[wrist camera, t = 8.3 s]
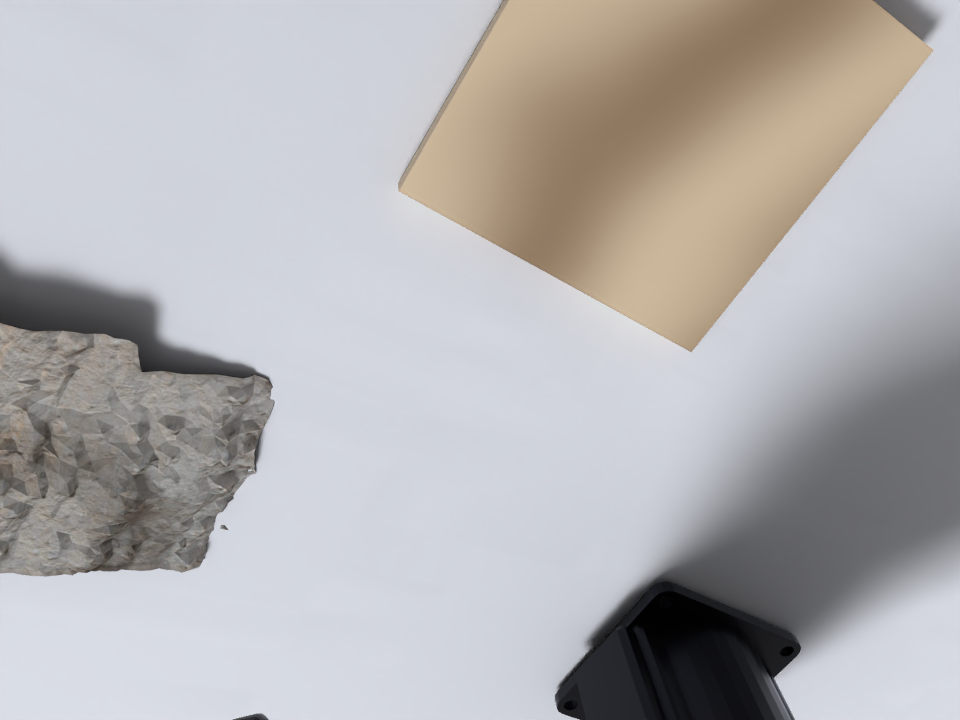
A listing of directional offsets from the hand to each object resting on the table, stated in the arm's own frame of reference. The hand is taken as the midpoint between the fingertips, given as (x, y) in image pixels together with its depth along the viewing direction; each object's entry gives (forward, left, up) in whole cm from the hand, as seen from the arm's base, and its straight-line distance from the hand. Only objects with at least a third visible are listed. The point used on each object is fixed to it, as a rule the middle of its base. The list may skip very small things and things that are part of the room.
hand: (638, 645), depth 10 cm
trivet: (-1, -5, -13) cm, 14 cm away
